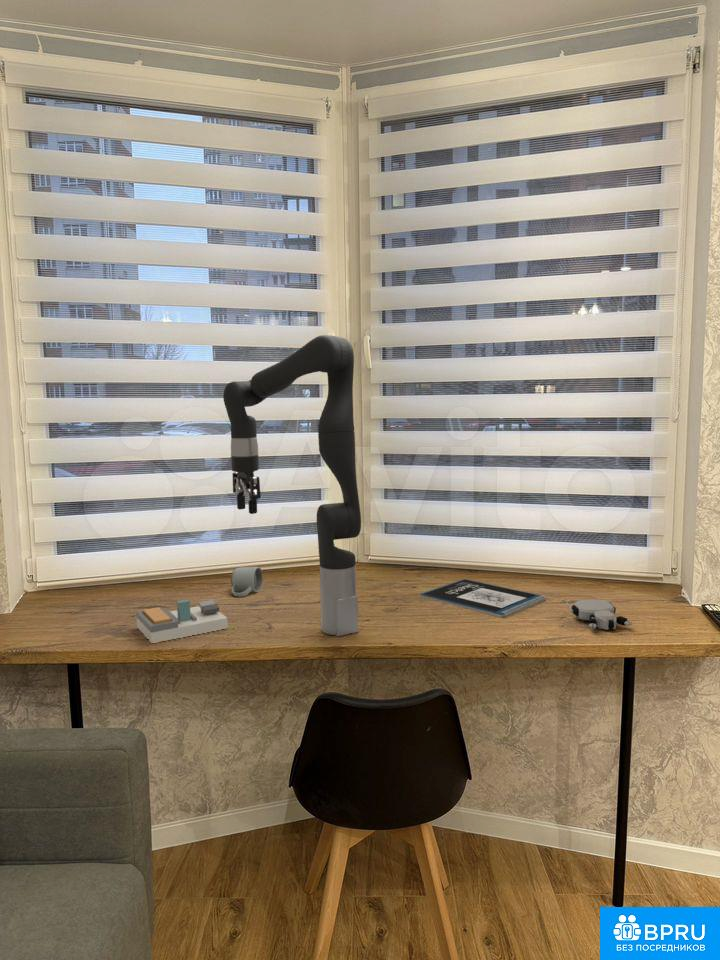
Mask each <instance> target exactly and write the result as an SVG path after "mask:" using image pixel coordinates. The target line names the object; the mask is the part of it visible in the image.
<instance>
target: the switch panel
mask: <svg viewBox="0 0 720 960" xmlns="http://www.w3.org/2000/svg"><path fill="white" fill-rule="evenodd" d="M159 608H160V609H161V610H162V611H163V612H164V613H165V614H166V615H167V616H168V617H170V618H171V621H170V622H165V623H160V624H155V625H154V624H153V623H152V622H151V621H150V620H149V619H148V618H147V617H146V616H145V615H144V614H143V610H139V611H136V628H139V630H140V631H141V632H142V633H143V634H144V635H145V636H146V637H147V638H148V639H149V641H150V642H151V643H155V642H159V641H164V640H169V639H176V638H181V639H184V638H183V637H186V636H191V637H193V636H192V635H196V636H198V635H197V634H201V635H203V634H202V633H205V634H208V633H207V632H210V633H212V632H211V631H215V632H217V631H216V630H220V631H222V630H221V629H225V630H227V629H226V628H228V629H229V626H228V624H229V623H228V617H227V616H226V615H224V614H223V613H222V612H220V611H219V612H215V613H210V614H204V613H201V609H200V607H199V605H197V606H192V607H191V606H190V616H191V620H186V621H181V622H180V620H179V619H178V614H177V609H175V610H169V609H165V608H164V607H163V606H162V607H159ZM139 630H138V631H139ZM140 631H139V632H140ZM141 632H140V633H141ZM142 633H141V634H142ZM143 634H142V635H143ZM144 635H143V636H144ZM145 636H144V637H145ZM186 638H187V637H186ZM176 640H177V639H176ZM149 641H148V642H149ZM150 642H149V643H150ZM151 643H150V644H151Z"/></svg>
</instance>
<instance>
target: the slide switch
mask: <svg viewBox="0 0 720 960" xmlns="http://www.w3.org/2000/svg"><path fill="white" fill-rule="evenodd" d="M176 608H177V609H176V610H177V614H178V619H179V620H180V622H181V621H186V620H191V616H190V608H191V602H190V600H189V599H187V598H186V599H182V600H181V599H180V600H177V601H176Z"/></svg>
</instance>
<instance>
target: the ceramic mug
mask: <svg viewBox="0 0 720 960" xmlns="http://www.w3.org/2000/svg"><path fill="white" fill-rule="evenodd" d="M263 583H264V576H263V570H262V568H261V567H259V566H248V567H247V566H246V567H245V566H244V567H242V566H241V567H236V568H234V569H233V571H232V572H231V575H230V584H231V592H232V595H233V596H234V597H236V598H242V597H245V596H247V595H249V594H250V593H259V592H260V591H261V590H262V589H263V588H262V587H263ZM235 591H238V592H235Z"/></svg>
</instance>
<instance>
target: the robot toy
mask: <svg viewBox="0 0 720 960" xmlns="http://www.w3.org/2000/svg"><path fill="white" fill-rule="evenodd" d="M566 605H567V607H568V608H569V609H570V612H571V613H572V614H573V615H575V616H576V617H577V618H578V619H580V620H581V621H588V627H589V628H592V629H596V628H598V629H599V630H608V631H609V630H612V629H613V630H616V629H617V624H618V625H620V626H622V627H625V626H626V627H627V626H628V627H630V626H632V625H633V622H631V621H630V620H628V618H626V617H623V616H621V615H620V616H616V615H615V614H616V610H617V607H616V606H614V604H613V603H612V601H611V600H610V599H608V600H604V599H599V598H598V599H595V598H594V599H593V598H592V599H591V598H590V599H588V598H587V599H582V600H577V601H575V602H573V604H572V606H570V605H569V603H568V601H566Z"/></svg>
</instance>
